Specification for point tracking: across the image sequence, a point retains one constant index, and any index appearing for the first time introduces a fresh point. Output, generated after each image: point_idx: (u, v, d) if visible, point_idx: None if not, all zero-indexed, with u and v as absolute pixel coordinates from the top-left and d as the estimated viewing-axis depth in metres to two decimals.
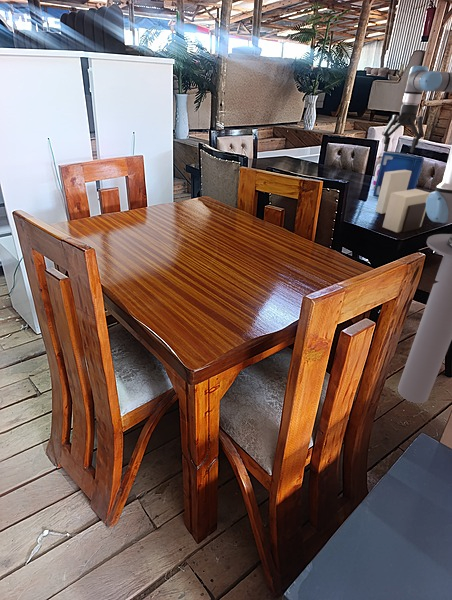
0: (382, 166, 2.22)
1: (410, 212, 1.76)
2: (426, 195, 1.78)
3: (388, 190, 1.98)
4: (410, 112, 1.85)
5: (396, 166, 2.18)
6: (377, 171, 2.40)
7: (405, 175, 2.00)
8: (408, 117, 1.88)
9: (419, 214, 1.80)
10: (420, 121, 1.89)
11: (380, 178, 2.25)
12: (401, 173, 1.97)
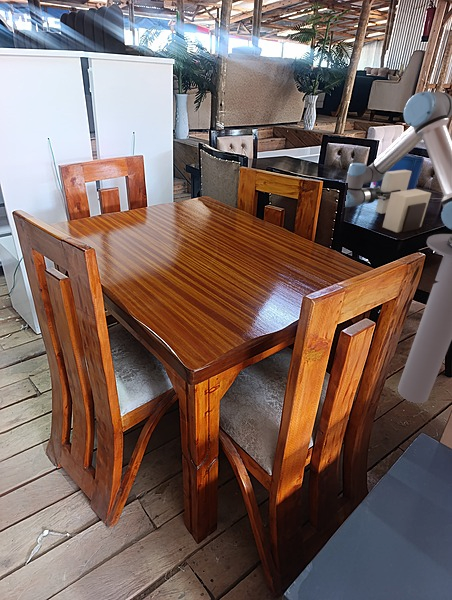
0: None
1: (410, 212, 1.76)
2: (426, 195, 1.78)
3: (388, 190, 1.98)
4: (372, 188, 1.92)
5: (396, 166, 2.18)
6: None
7: (405, 175, 2.00)
8: None
9: (419, 214, 1.80)
10: None
11: None
12: (401, 173, 1.97)
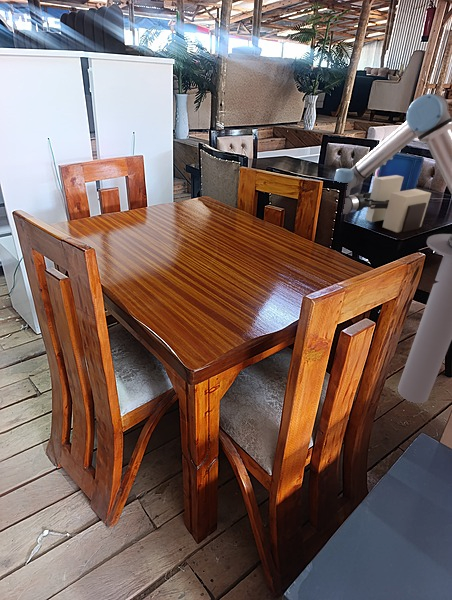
0: (382, 166, 2.22)
1: (410, 212, 1.76)
2: (426, 195, 1.78)
3: (378, 197, 1.85)
4: (360, 195, 1.80)
5: (396, 166, 2.18)
6: (377, 171, 2.40)
7: (396, 181, 1.87)
8: None
9: (419, 214, 1.80)
10: None
11: None
12: (392, 179, 1.84)
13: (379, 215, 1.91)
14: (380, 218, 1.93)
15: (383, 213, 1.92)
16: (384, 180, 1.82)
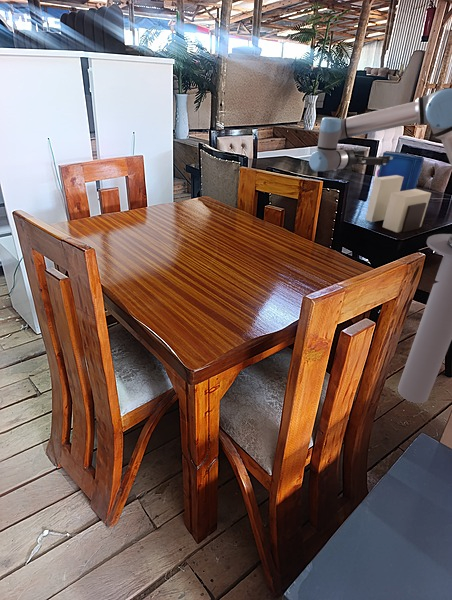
0: (382, 166, 2.22)
1: (410, 212, 1.76)
2: (426, 195, 1.78)
3: (378, 197, 1.85)
4: (350, 150, 1.63)
5: (396, 166, 2.18)
6: (377, 171, 2.40)
7: (396, 181, 1.87)
8: None
9: (419, 214, 1.80)
10: None
11: None
12: (392, 179, 1.84)
13: (379, 215, 1.91)
14: (380, 218, 1.93)
15: (383, 213, 1.92)
16: (384, 180, 1.82)
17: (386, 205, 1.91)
